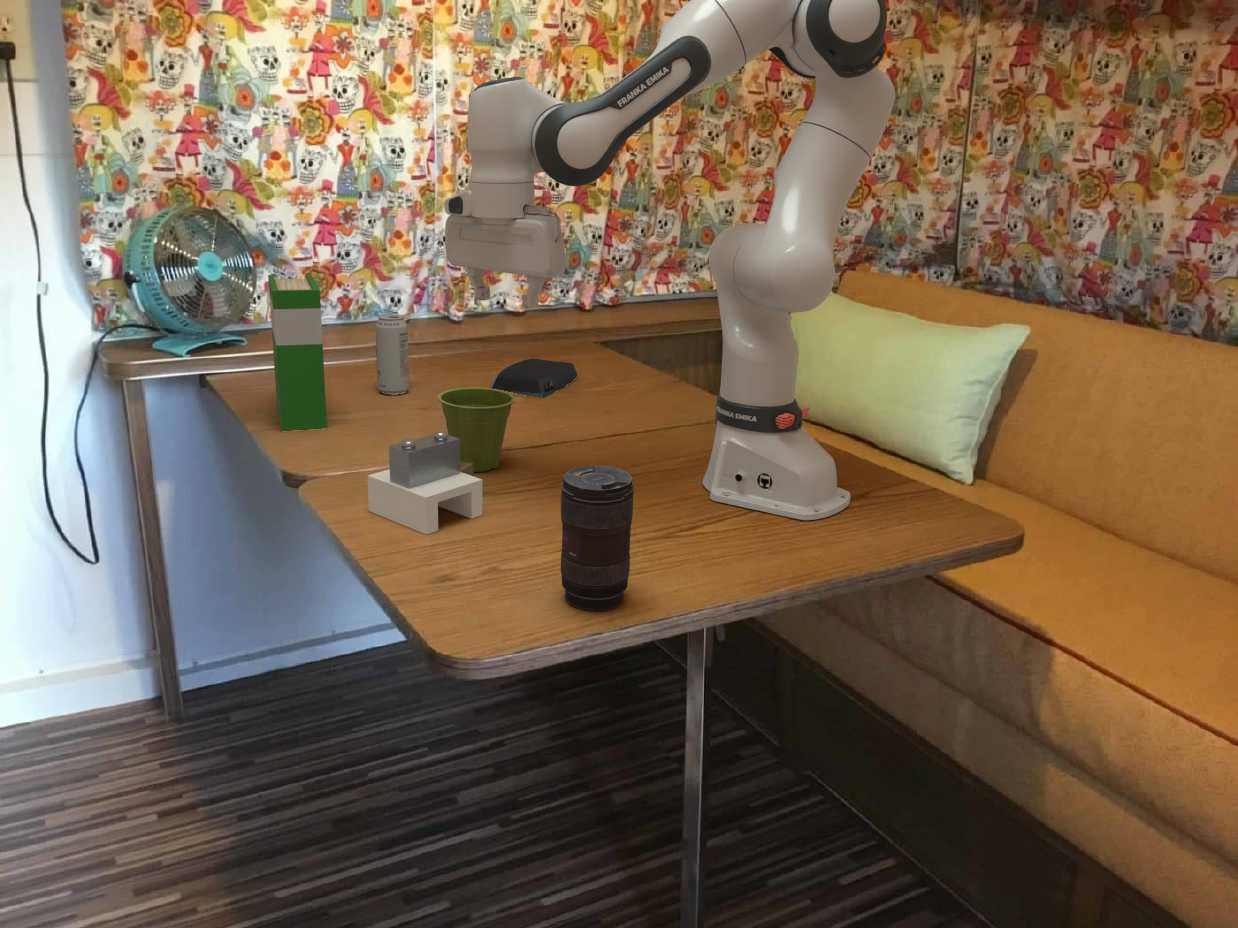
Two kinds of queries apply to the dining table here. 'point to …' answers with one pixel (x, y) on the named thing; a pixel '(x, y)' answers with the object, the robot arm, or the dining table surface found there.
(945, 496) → the dining table surface
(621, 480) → the camera lens
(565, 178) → the robot arm
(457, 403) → the plant pot
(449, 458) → the block
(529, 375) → the external hard drive
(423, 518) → the stand
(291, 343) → the hardback book
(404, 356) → the energy drink can
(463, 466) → the walnut block
